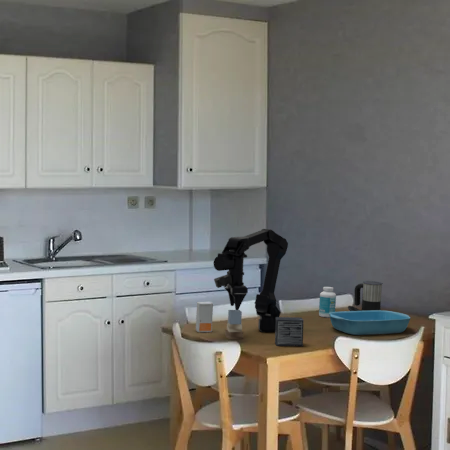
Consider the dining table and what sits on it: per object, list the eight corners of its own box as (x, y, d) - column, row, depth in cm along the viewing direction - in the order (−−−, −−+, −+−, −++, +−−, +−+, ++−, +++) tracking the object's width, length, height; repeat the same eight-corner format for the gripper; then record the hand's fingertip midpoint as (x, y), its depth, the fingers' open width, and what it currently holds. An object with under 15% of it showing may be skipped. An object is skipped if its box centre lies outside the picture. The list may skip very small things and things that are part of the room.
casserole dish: (389, 323, 399) (390, 307, 398) (420, 333, 379) (421, 317, 378) (318, 328, 384) (319, 311, 383) (346, 338, 363) (347, 321, 363)
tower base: (237, 336, 361) (237, 329, 360) (242, 339, 355) (243, 331, 355) (224, 337, 358) (225, 329, 358) (230, 339, 353) (230, 332, 353)
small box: (301, 343, 351) (302, 316, 350) (303, 346, 344) (304, 320, 343) (274, 342, 350) (275, 316, 350) (275, 346, 344) (277, 319, 343)
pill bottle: (331, 318, 405) (333, 289, 404) (316, 316, 408) (317, 287, 407) (337, 316, 412) (338, 287, 410) (322, 314, 415) (323, 285, 414)
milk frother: (383, 312, 425) (384, 281, 424) (375, 318, 410) (376, 286, 409) (354, 309, 430) (355, 279, 429) (345, 314, 416) (346, 283, 415)
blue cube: (238, 322, 359) (239, 309, 359) (241, 324, 355) (241, 311, 355) (227, 322, 358) (228, 309, 358) (230, 324, 354) (230, 311, 354)
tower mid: (239, 329, 360) (239, 322, 360) (241, 332, 355) (242, 324, 354) (226, 329, 359) (227, 322, 359) (229, 332, 354) (229, 324, 354)
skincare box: (198, 332, 364) (198, 303, 363) (195, 330, 368) (196, 301, 367) (212, 332, 366) (213, 303, 365) (209, 330, 370) (210, 301, 369)
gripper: (211, 265, 362) (210, 303, 364) (220, 272, 344) (219, 312, 345) (238, 266, 365) (237, 303, 366) (248, 272, 346) (247, 312, 348)
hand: (234, 307), depth 356 cm, fingers open, 9 cm apart
